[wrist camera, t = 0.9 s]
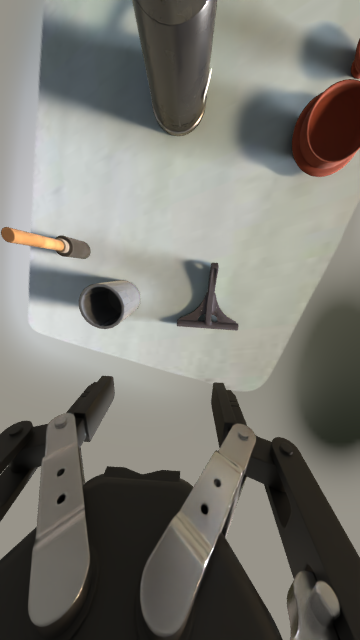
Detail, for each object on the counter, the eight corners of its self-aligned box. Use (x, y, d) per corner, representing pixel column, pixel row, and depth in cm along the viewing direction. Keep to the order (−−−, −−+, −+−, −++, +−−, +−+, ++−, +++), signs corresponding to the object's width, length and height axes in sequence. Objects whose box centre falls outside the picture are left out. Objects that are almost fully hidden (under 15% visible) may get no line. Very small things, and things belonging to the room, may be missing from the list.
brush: (71, 243, 36) (-12, 222, 21) (87, 239, 36) (13, 215, 21) (78, 260, 37) (2, 252, 22) (92, 256, 37) (26, 246, 22)
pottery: (272, 165, 31) (286, 148, 27) (344, 20, 26) (374, -30, 22) (325, 193, 32) (346, 181, 28) (404, 59, 27) (445, 19, 22)
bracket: (246, 265, 36) (251, 264, 34) (235, 329, 41) (239, 333, 38) (181, 261, 37) (180, 260, 34) (177, 324, 41) (176, 328, 38)
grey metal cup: (102, 284, 39) (71, 289, 28) (135, 277, 38) (116, 279, 27) (113, 316, 41) (88, 332, 30) (144, 310, 40) (130, 324, 29)
